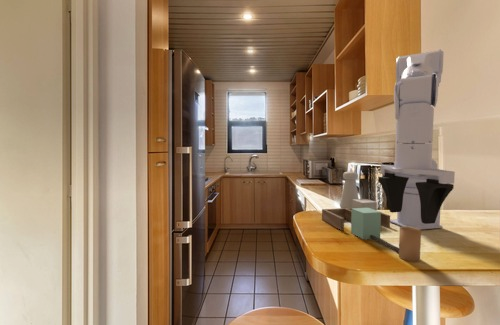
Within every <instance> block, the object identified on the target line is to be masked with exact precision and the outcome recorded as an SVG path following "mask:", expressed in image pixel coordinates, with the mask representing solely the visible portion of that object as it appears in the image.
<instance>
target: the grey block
mask: <svg viewBox="0 0 500 325" xmlns="http://www.w3.org/2000/svg"><path fill="white" fill-rule="evenodd" d="M377 206H378V202H377V201H375V200H371V199H369V198H359V199H352V208H371V209H373V210H376V211H378V210H377V209H378V207H377Z"/></svg>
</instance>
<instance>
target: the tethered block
mask: <svg viewBox="0 0 500 325" xmlns="http://www.w3.org/2000/svg"><path fill="white" fill-rule="evenodd" d="M381 213H382V212H381V211H379V210H377V211H376V210H373V209H371V208H352V213H351V222H350V224H351V225H350V234H352V235H353V236H355V235H356V237H357V236H358V238H359V237H360V238H359V239H360V240H375V241H376V242H378V243H380V244H382V245H384V246H385V247H388V248H389V249H392V250H394V251H395V252H398V258H400V259H401V260H403V261H407V262H411V263H417V262H420V261H421V245H422V244H421V242H422V229H418V228H414V227H408V226H403V227H402V226H400V227H399V237H398V240H399V241H398V242H399V243H398V246H396V245H393V244H391V243H389V242H387V241H385V240H383V239H381V226H382V225H381Z"/></svg>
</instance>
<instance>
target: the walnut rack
mask: <svg viewBox="0 0 500 325" xmlns="http://www.w3.org/2000/svg"><path fill="white" fill-rule="evenodd" d="M351 213H352V208H341V207H340V208H339V207H338V208H325V209H324V208H322V210H321V221H324V222H326V223H327V224H328V225H330V226H333V228H336V229H337V228H338V229H337V230H339V229H340V231H344V230H345V220H346V221H347V222H349V221H350V223H351ZM390 220H391V215H389V214H386V213H384V212H381V226H383V227H386V228H391V222H390Z"/></svg>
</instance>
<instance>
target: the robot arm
mask: <svg viewBox="0 0 500 325" xmlns="http://www.w3.org/2000/svg"><path fill="white" fill-rule="evenodd" d="M443 70H444V51H443V50H442V49H438V50H433V51H426V52H420V53H415V54H409V55H408V54H407V55H398V56H397V57H396V61H395V79H396V81H395V83H394V88H393V102H394V103H393V104H394V110H395V112H394V113H395V114H394V116H395V119H396V124H395V145H394V146H395V148H394V149H395V153H394V162H393V164H380V172H379V173H380V175H383V176H378V178H377V180H378V182H379V183H380V185H381V187H382V190H383V192H384V194H385V198H386V200H387V205H388V210H389V212H390V213H392V214H393V213H397V214H396V219H390V223H393V224H395V225H397V226H400V227H403V226H408V227H414V228H418V229H420V230H432V229H434V230H435V229H443V225H440V224H441V208H442V206H443V203H444V202H445V200H446V199H447V197H448V196H449V194H450V193H451V192H452V191H453V190H454V186H455V185H454V184H455V173H456V172H455V171H452V170H447V169H445V170H444V169H439V168H438V163H437V161H436V160H435V159H434V158H433V135H434V118H435V117H434V116H435V114H434V113H435V111H434V110H435V109H434V108H436V106H437V103H438V97H439V87H440V83H441V82H442V75H443Z"/></svg>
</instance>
